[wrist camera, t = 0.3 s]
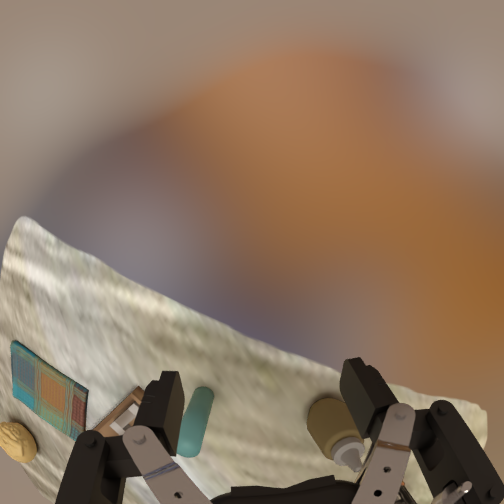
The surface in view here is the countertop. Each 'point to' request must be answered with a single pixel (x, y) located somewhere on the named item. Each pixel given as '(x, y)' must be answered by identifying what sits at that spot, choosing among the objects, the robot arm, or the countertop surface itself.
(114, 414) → the tray
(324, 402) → the squeeze bottle
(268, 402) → the countertop surface
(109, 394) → the countertop surface
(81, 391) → the dish towel
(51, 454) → the countertop surface
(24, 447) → the sculpture
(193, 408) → the dowel
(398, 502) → the whiskey bottle
